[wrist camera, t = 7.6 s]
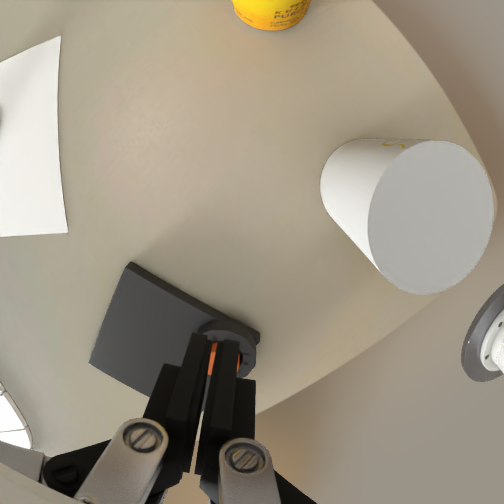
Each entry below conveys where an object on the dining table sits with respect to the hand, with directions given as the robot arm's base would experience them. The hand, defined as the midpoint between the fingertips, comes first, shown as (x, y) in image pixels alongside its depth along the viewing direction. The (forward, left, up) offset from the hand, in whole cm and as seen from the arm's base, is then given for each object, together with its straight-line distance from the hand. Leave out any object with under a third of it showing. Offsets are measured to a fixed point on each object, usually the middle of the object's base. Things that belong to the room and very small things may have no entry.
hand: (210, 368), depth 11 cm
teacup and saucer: (+28, +5, -17) cm, 33 cm away
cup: (-7, -9, -17) cm, 21 cm away
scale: (0, +14, -17) cm, 22 cm away
